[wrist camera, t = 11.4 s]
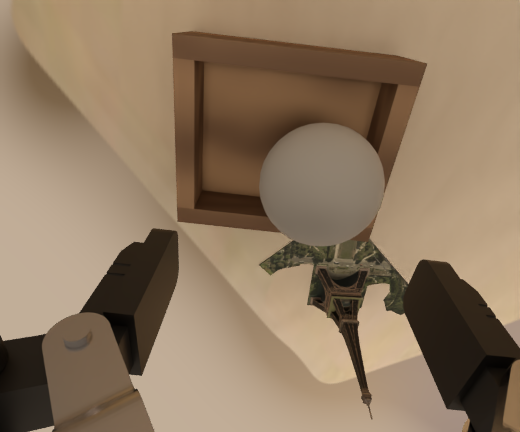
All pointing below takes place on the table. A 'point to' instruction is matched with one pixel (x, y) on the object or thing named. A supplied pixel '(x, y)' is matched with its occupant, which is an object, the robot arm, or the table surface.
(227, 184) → the wooden tray
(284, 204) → the lightbulb
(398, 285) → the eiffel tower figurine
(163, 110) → the table surface
